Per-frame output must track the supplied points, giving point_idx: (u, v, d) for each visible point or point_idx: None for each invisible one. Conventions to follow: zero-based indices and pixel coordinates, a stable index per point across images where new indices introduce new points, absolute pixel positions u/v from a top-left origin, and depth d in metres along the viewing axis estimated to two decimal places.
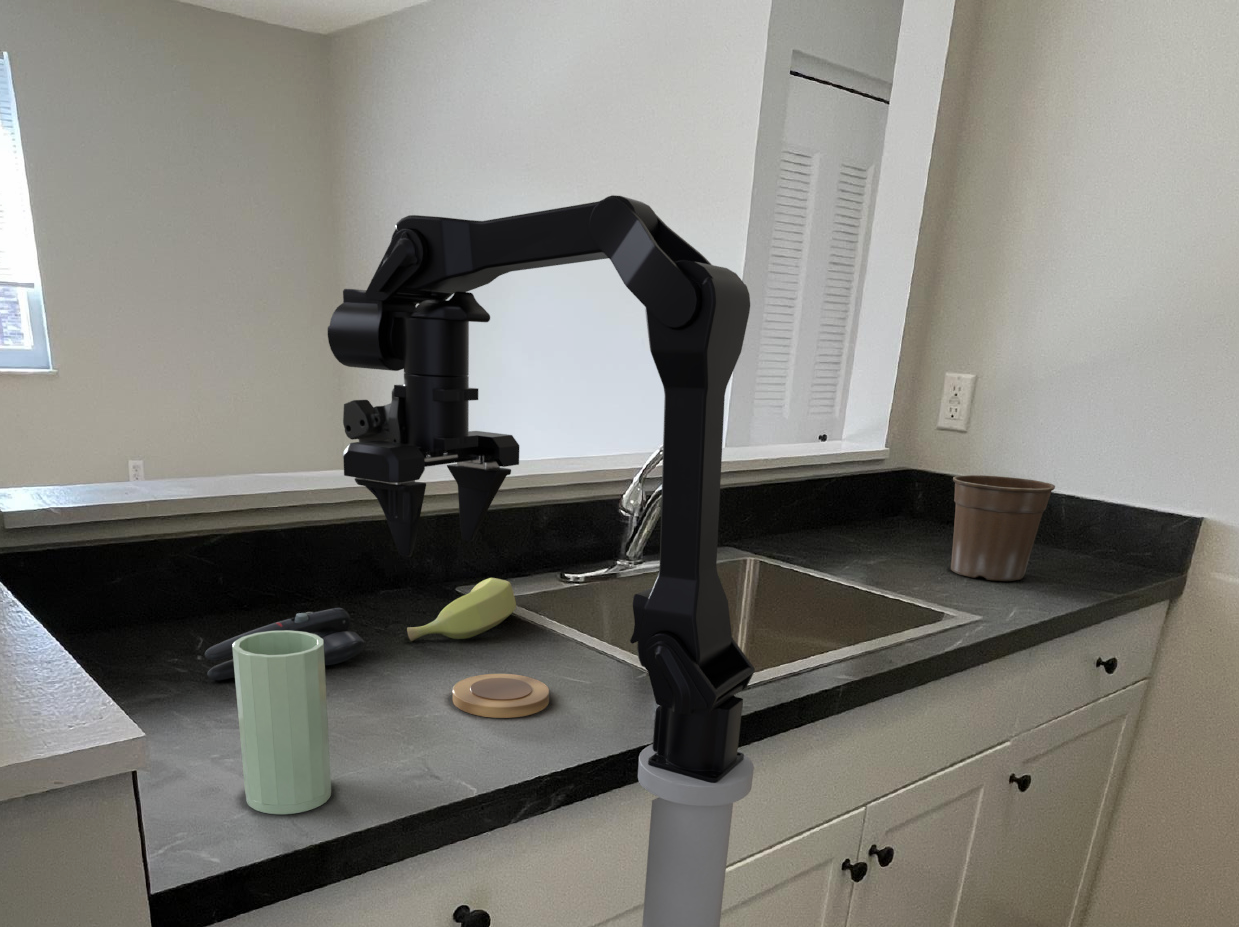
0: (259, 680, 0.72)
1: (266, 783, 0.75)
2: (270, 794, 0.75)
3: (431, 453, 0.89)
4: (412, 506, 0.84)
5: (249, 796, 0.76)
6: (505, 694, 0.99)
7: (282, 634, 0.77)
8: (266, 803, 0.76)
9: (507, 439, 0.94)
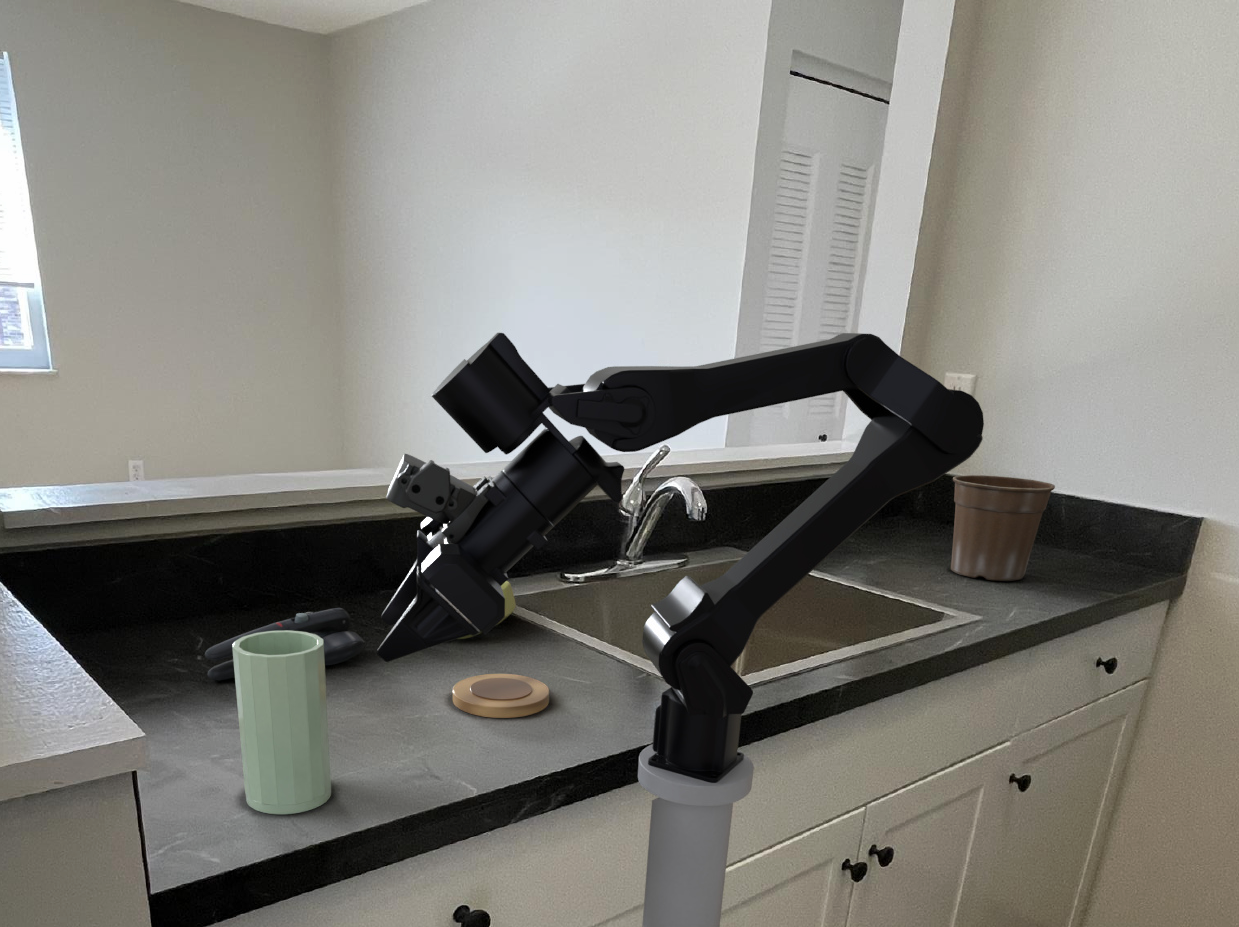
0: (259, 680, 0.72)
1: (266, 783, 0.75)
2: (270, 794, 0.75)
3: None
4: (452, 639, 0.70)
5: (249, 796, 0.76)
6: (505, 694, 0.99)
7: (282, 634, 0.77)
8: (266, 803, 0.76)
9: None
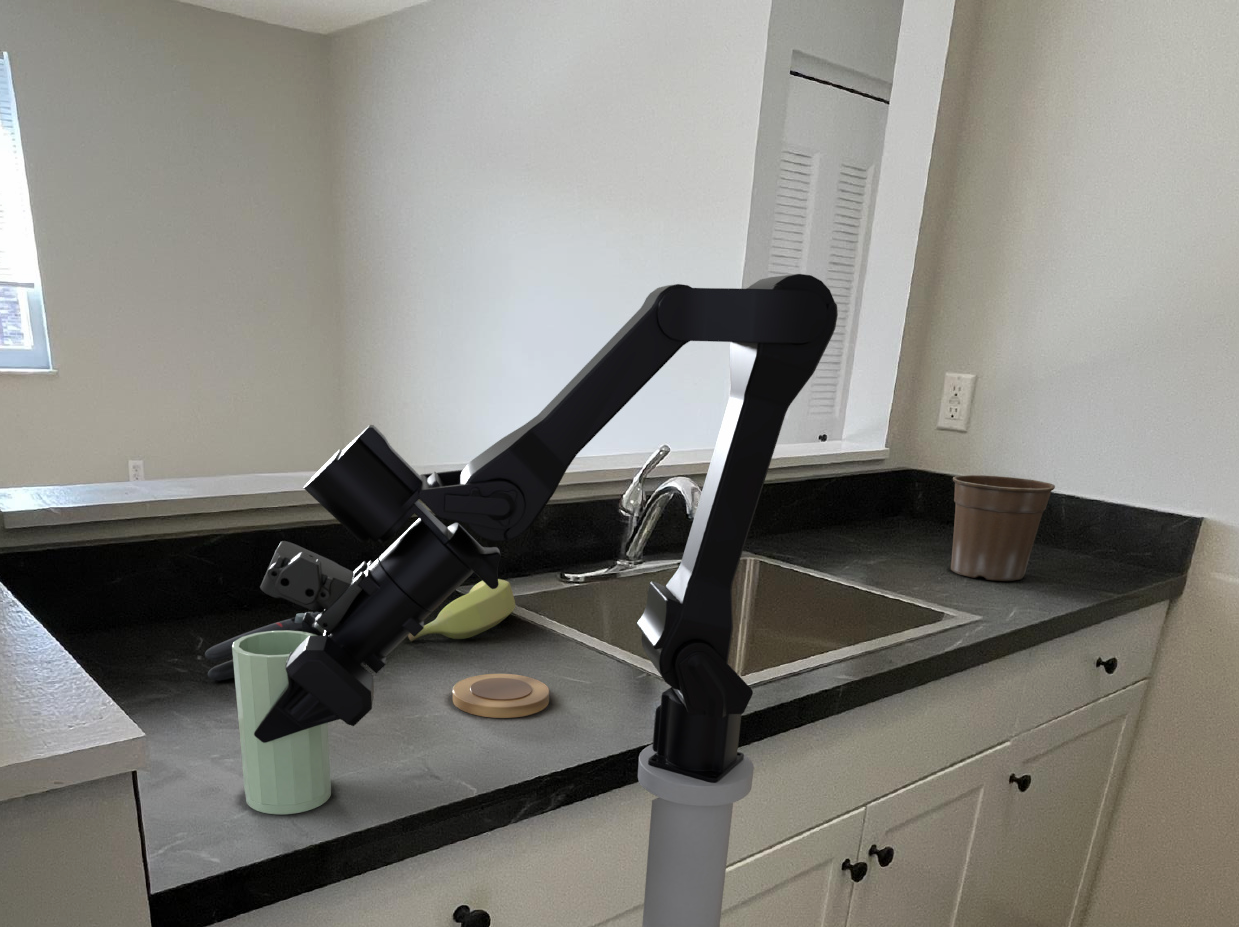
0: (259, 680, 0.72)
1: (266, 783, 0.75)
2: (270, 794, 0.75)
3: None
4: (326, 722, 0.72)
5: (249, 796, 0.76)
6: (505, 694, 0.99)
7: (282, 634, 0.77)
8: (266, 803, 0.76)
9: None
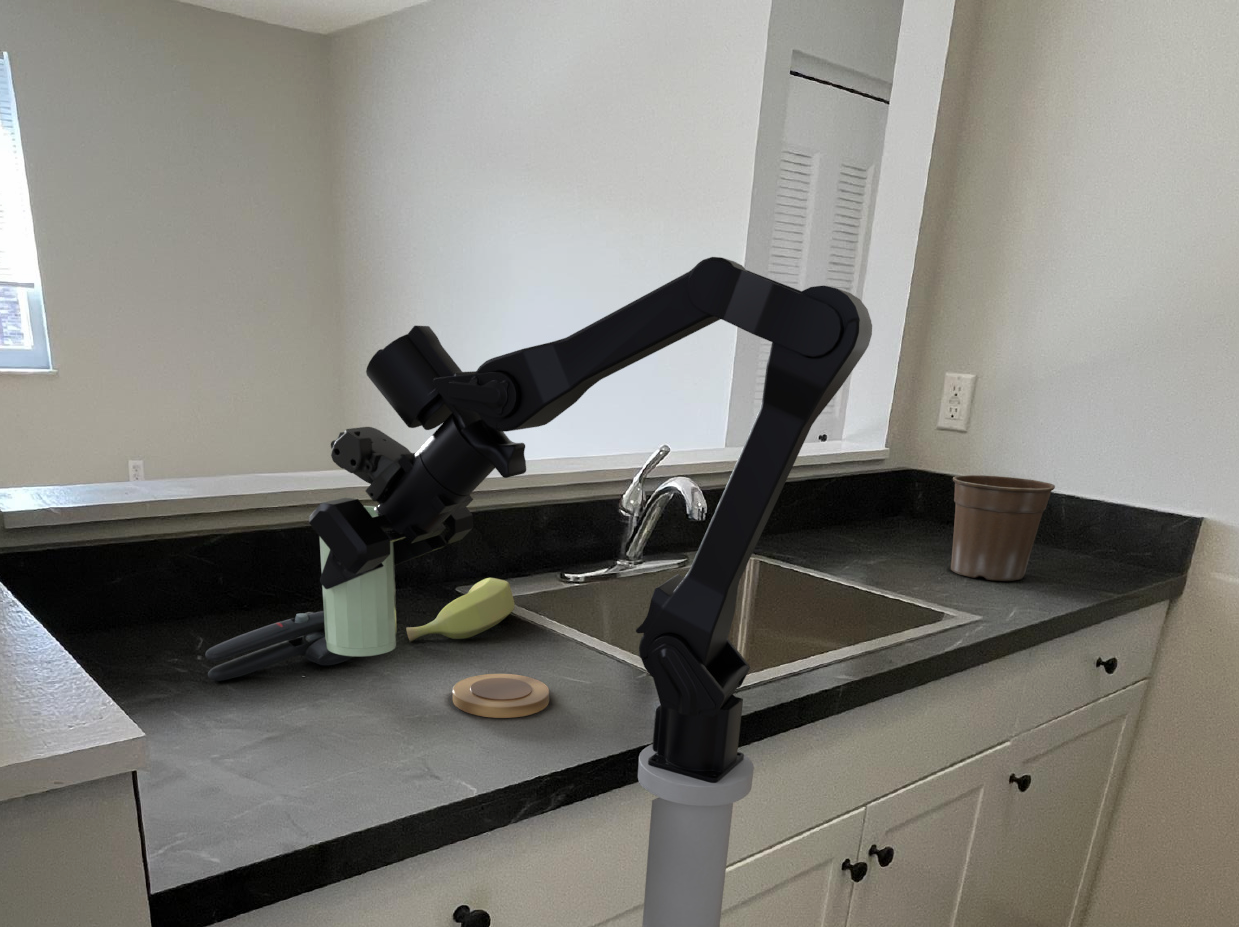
0: None
1: (330, 625, 0.91)
2: (332, 635, 0.91)
3: None
4: (359, 576, 0.86)
5: (325, 637, 0.93)
6: (505, 694, 0.99)
7: (373, 509, 0.92)
8: (331, 643, 0.92)
9: (466, 521, 0.94)
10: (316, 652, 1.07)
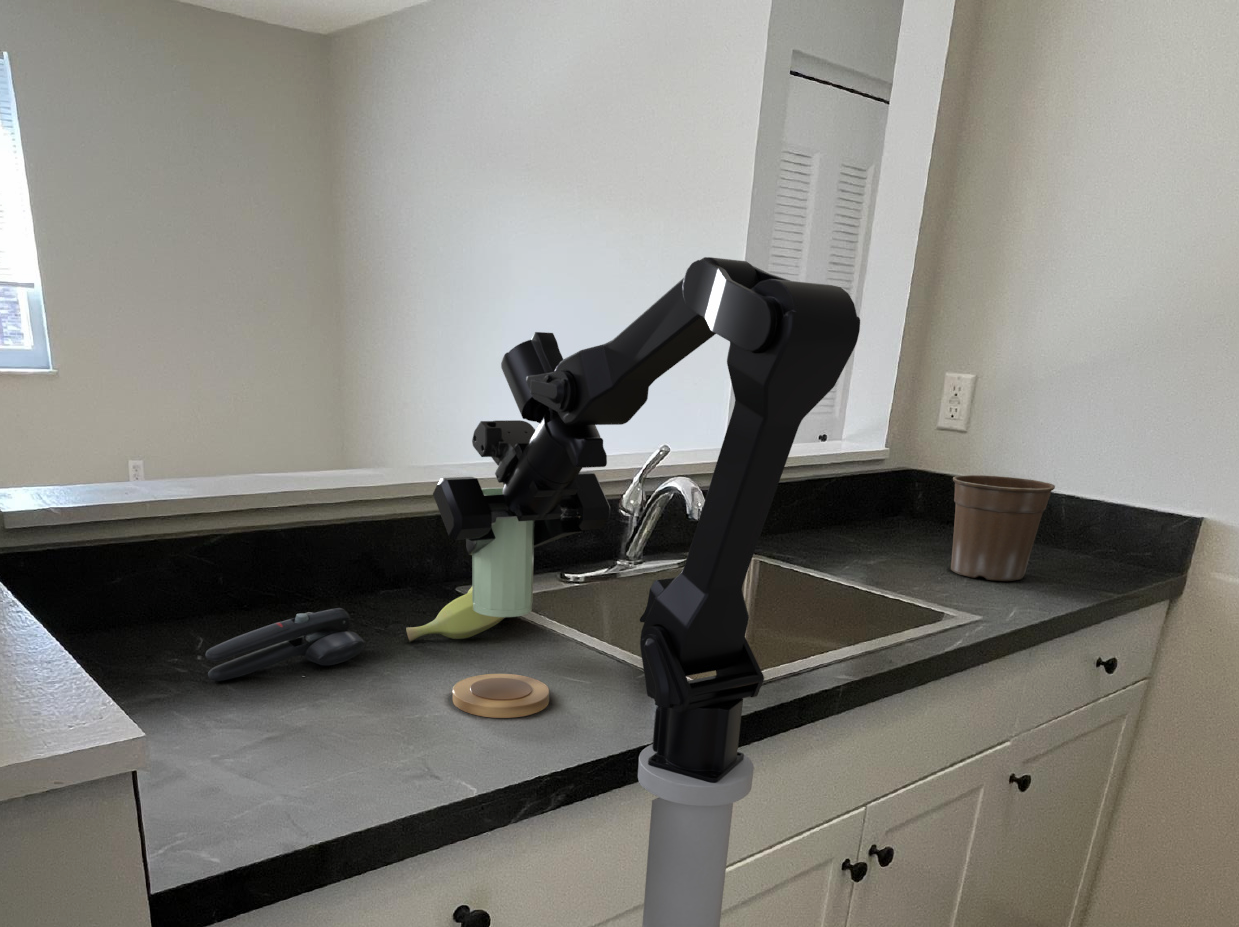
0: None
1: (473, 586, 1.08)
2: (473, 595, 1.08)
3: None
4: (477, 544, 1.01)
5: None
6: (505, 694, 0.99)
7: None
8: (473, 602, 1.08)
9: (600, 511, 1.04)
10: (316, 652, 1.07)
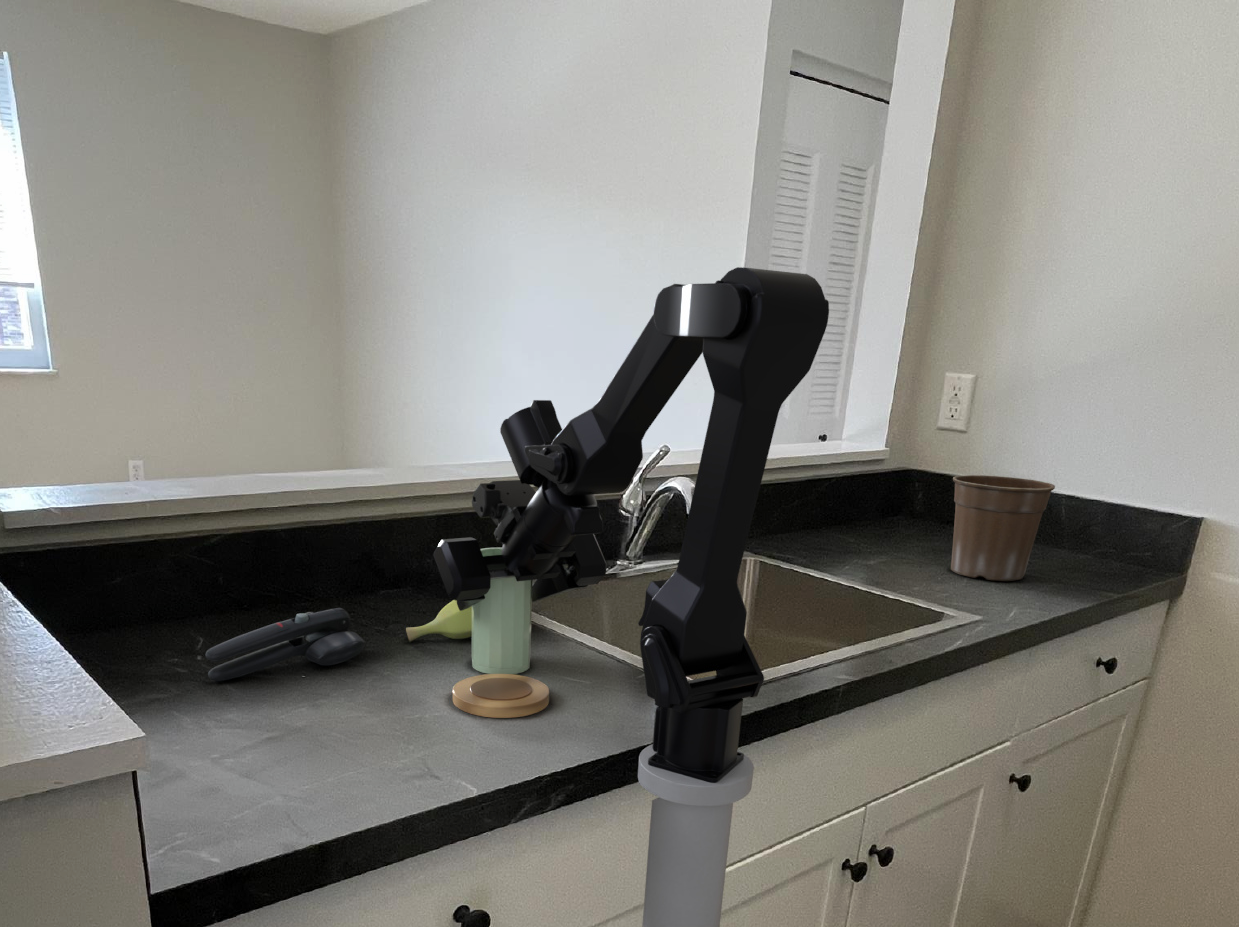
0: None
1: (472, 644, 1.10)
2: (472, 652, 1.10)
3: None
4: (467, 603, 1.02)
5: None
6: (505, 694, 0.99)
7: None
8: (472, 659, 1.11)
9: (596, 568, 1.06)
10: (316, 652, 1.07)
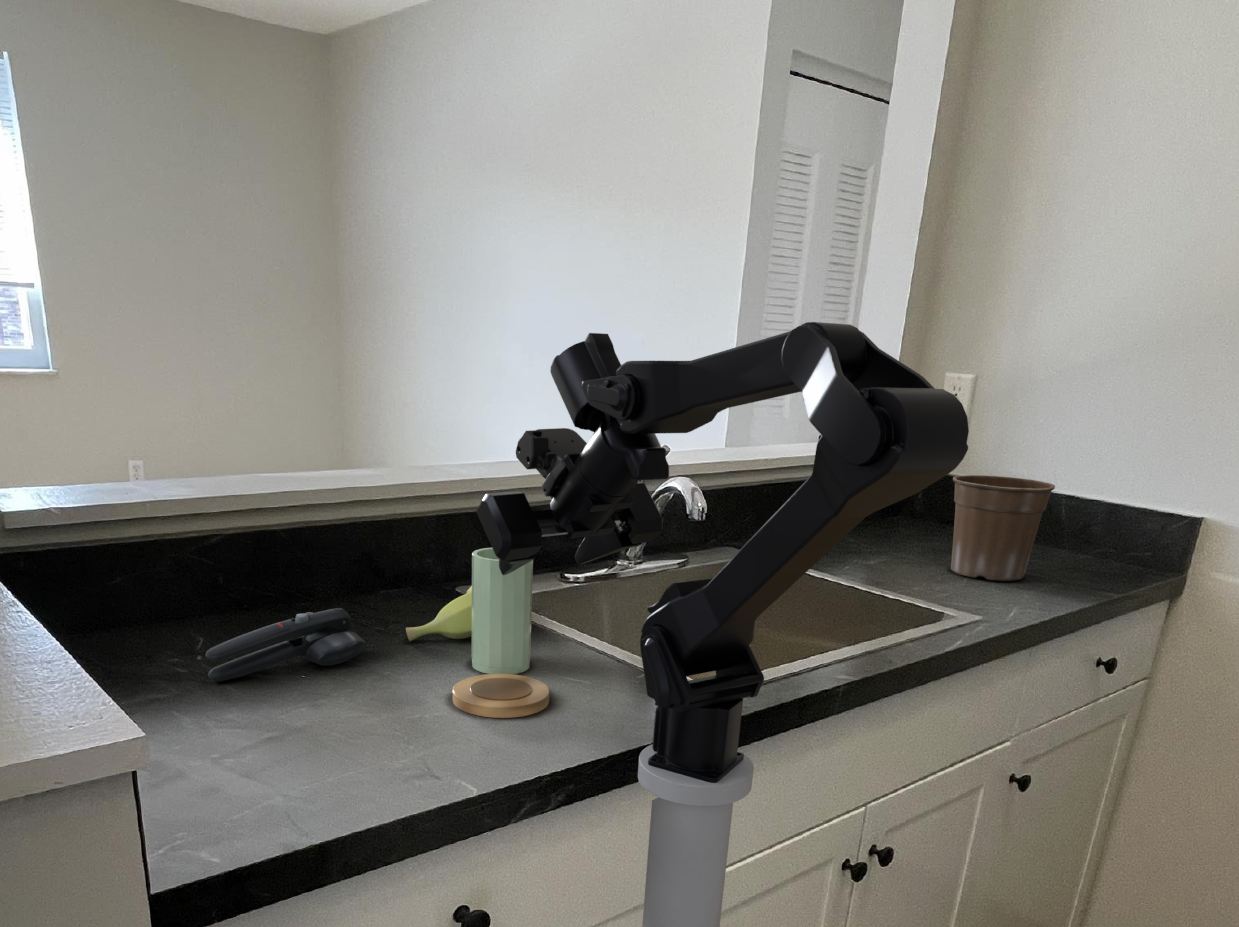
0: (472, 571, 1.07)
1: (472, 644, 1.10)
2: (472, 652, 1.10)
3: None
4: (514, 565, 0.93)
5: None
6: (505, 694, 0.99)
7: None
8: (472, 659, 1.11)
9: (652, 523, 0.97)
10: (316, 652, 1.07)
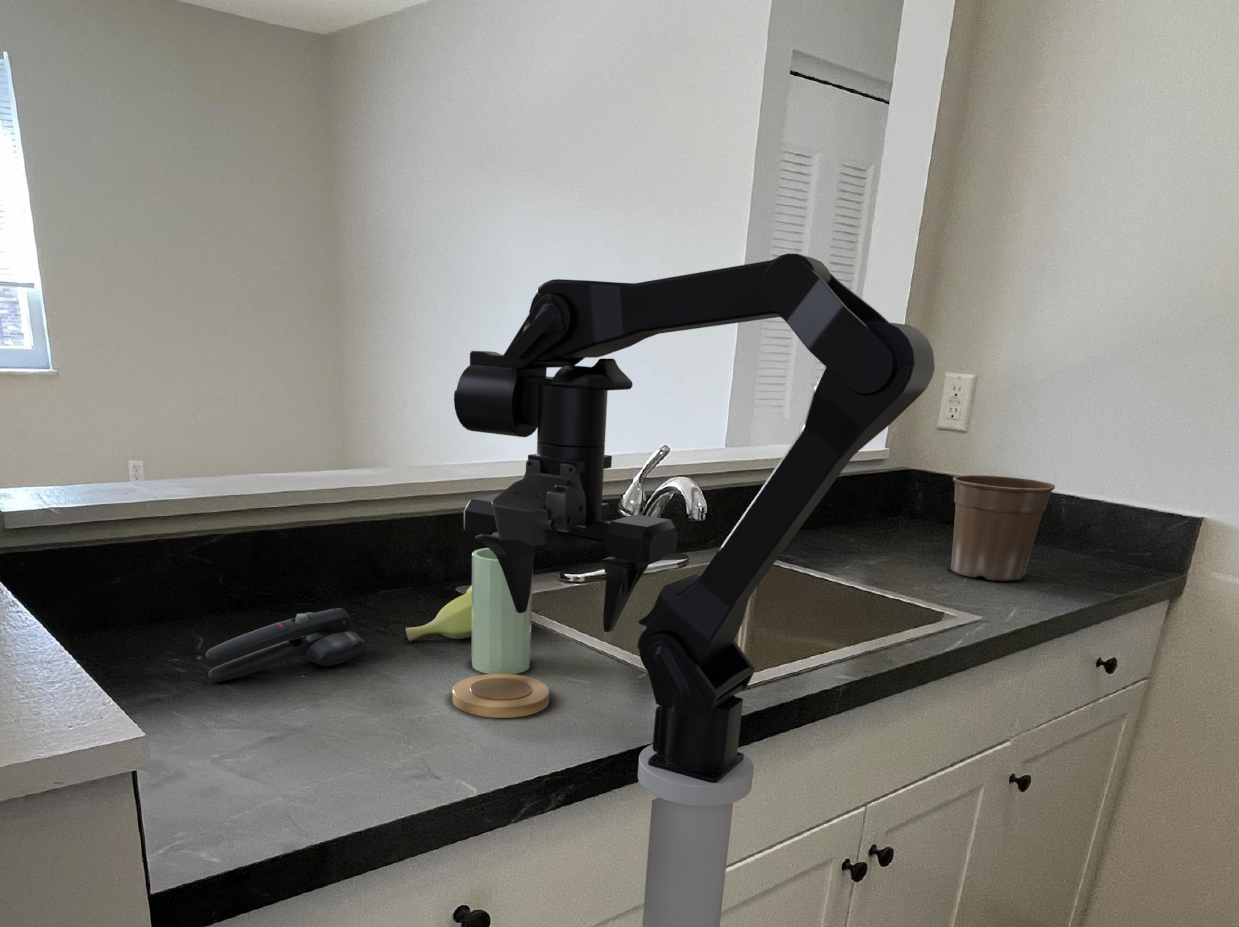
0: (472, 571, 1.07)
1: (472, 644, 1.10)
2: (472, 652, 1.10)
3: None
4: None
5: None
6: (505, 694, 0.99)
7: None
8: (472, 659, 1.11)
9: None
10: (316, 652, 1.07)
